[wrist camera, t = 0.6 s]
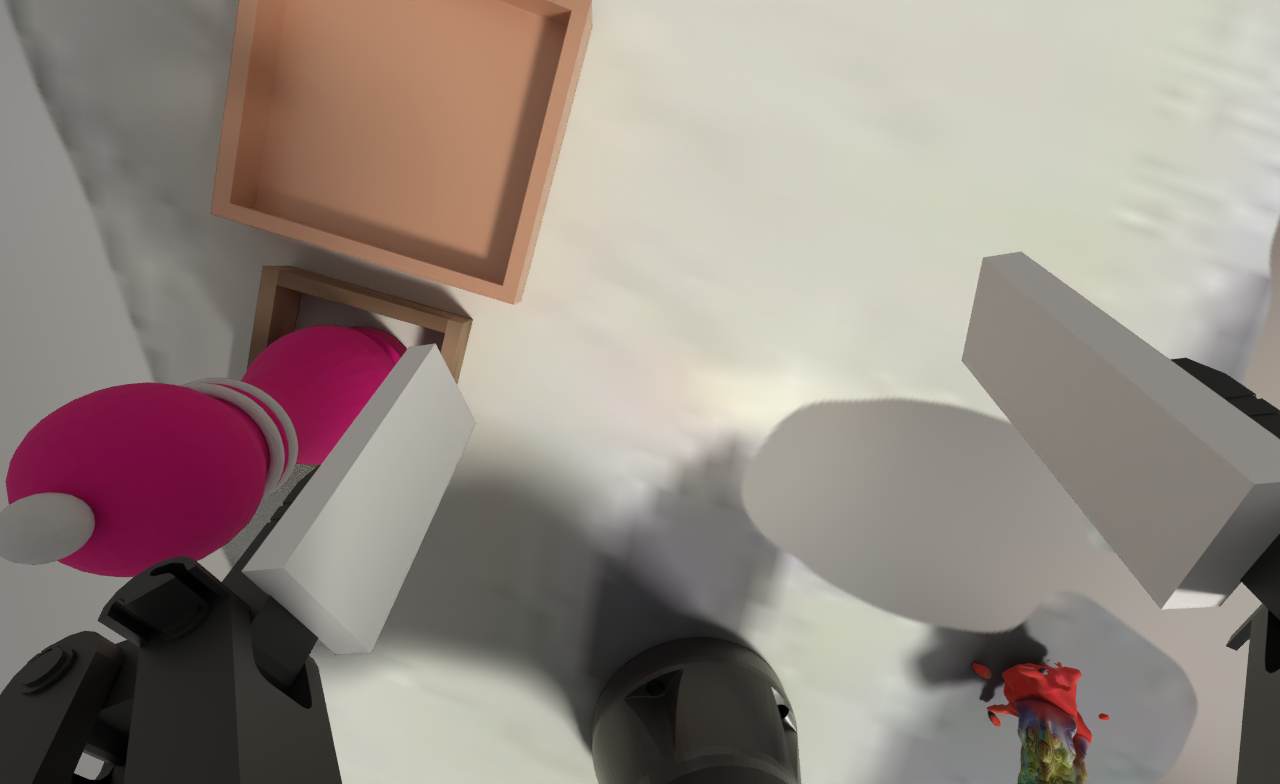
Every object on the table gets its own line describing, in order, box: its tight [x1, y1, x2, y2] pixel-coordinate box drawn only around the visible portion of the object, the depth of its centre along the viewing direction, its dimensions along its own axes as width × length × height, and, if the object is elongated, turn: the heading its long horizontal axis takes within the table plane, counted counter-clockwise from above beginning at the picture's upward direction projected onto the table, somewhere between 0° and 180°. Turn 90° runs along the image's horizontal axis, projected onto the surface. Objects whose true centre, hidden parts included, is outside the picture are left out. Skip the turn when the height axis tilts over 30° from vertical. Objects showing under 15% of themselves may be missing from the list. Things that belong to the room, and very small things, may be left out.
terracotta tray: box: [211, 0, 592, 305], centre depth 27 cm, size 16×16×3 cm
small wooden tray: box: [247, 266, 473, 467], centre depth 30 cm, size 11×11×2 cm
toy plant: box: [973, 660, 1109, 784], centre depth 37 cm, size 8×10×12 cm
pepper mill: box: [0, 325, 406, 577], centre depth 22 cm, size 7×7×20 cm
